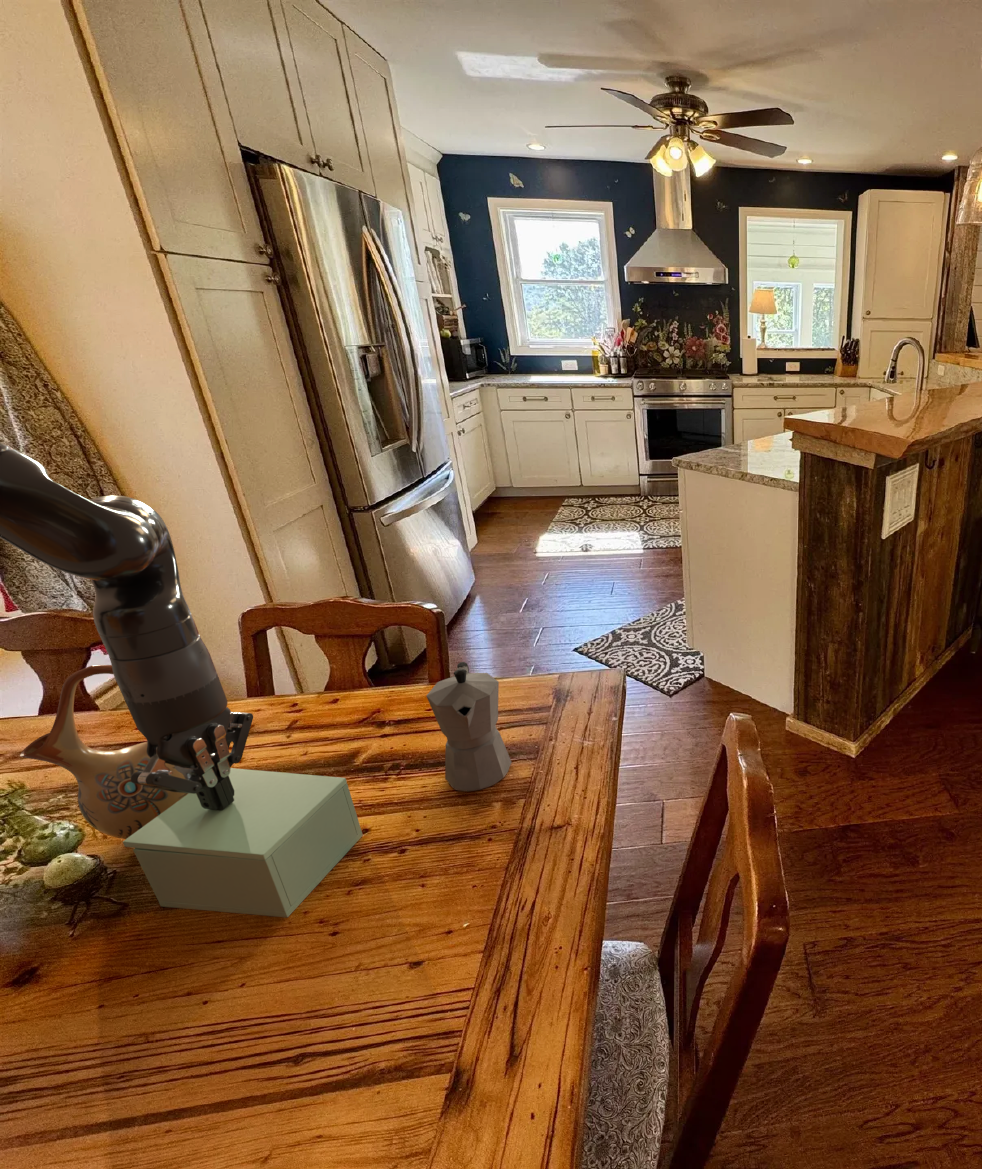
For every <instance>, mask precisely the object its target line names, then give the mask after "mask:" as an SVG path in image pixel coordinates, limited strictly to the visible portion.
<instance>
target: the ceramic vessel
mask: <svg viewBox="0 0 982 1169" xmlns="http://www.w3.org/2000/svg"><path fill="white" fill-rule="evenodd" d="M96 675H112V676H114V674H113V670H112V665H111V664H95V665H89V666H86V667H84V668H82V669H80V670H77V671H75V672H74V673H72V674H70V675H69V676H68V677H67V678H66V679H65V681H64V682H63V684H62V687H61V691H60V696H59V701H58V706H57V711H56V714H55V715H56V716H55V718H54V722H53V724H52V727H51V729H50V731H49V732H47V733H45V734H43V735H41V736H39V737H38V738H36V739H35V740H33V741H32V742H30V743H29V744H28V745H26V747H25V748H24V749H23V750H22V751H21V752H20V754H19V755H20V756H19V757H22V758H24V759H31V760H35V761H42V762H46V763H50V764H53V765H56V766H59V767H61V768H63V769H65V770H66V771H68V772H70V774H72V775H73V776H74V778H75V780H76V782H77V785H78V786H77V787H78V790H77V805H78V809H79V811H80V814H81V816H82V817H83V819H84V820H85V821H86V822H87V823H88V825H90V826H91V827H92V828H93V829H95V830H96V831H98V832H100V833H102V834H104V835H106V836H109V837H112V838H116V839H121V840H126V839H127V838H128V837H130V836H131V835H132V834H134V833H135V832H137V831H138V830H139V829H141V828H142V827H143V826H145V825H146V824H148V823H149V822H150V821H152V820H153V819H154V818H156V817H157V816H158V815H160V814H161V813H163V812H164V811H165V810H167V809H168V808H169V807H171V806H172V805H174V804H175V803H176V802H178V801H179V800H180V799H182V798H183V797H185V796H186V795H187V794H189V793H179V792H171V791H166V790H162V789H158V788H153V787H149V786H144V785H140V784H135V783H132V782H131V776H132V775H133V774H134V773H135V772H138V771H140V772H143V770H144V768H145V767H146V765H147V763H148V761H149V760H150V757H149V756H148V755H147V741H145V742H141V743H137V744H134V745H131V746H130V745H129V746H127V747H123V748H119V749H116V750H100V749H95V748H93V747H90V746H88V745H87V744H86V743H84V742H83V741H82V739H81V738H80V736H79V732H78V730H77V726H76V721H75V714H74V710H75V708H74V705H75V704H74V703H75V696H76V695H75V694H76V690H77V688H78V685H79V683H80V682H81V681H83V680H85V679H87V678H89V677H92V676H96ZM165 765H166V767H168V768H169V769H170V771H172V772H173V774H172V775H171V776H175V777H179V778H183V779H185V777H184V776H183V774H182V773H180V772H178V771H177V770H176V768H175V767H174V765H171V764H168V763H165Z"/></svg>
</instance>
